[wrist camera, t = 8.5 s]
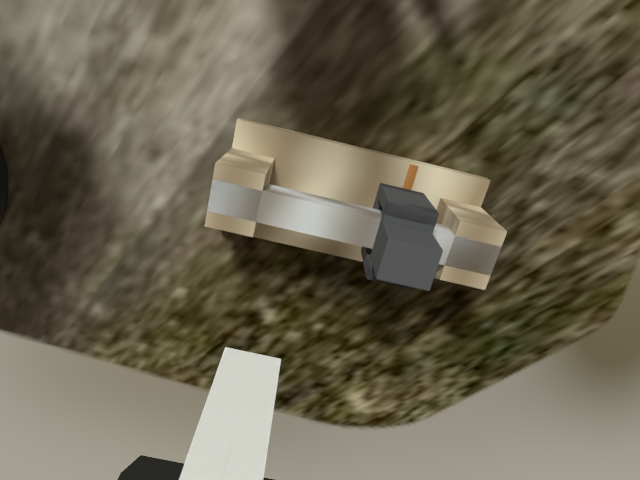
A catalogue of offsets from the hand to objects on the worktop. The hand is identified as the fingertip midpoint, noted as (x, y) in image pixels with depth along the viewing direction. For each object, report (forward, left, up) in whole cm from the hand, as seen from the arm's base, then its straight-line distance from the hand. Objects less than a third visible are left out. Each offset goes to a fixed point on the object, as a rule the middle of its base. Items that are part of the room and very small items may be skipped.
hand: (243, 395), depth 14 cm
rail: (+4, 0, -24) cm, 25 cm away
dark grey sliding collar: (+7, 0, -21) cm, 22 cm away
